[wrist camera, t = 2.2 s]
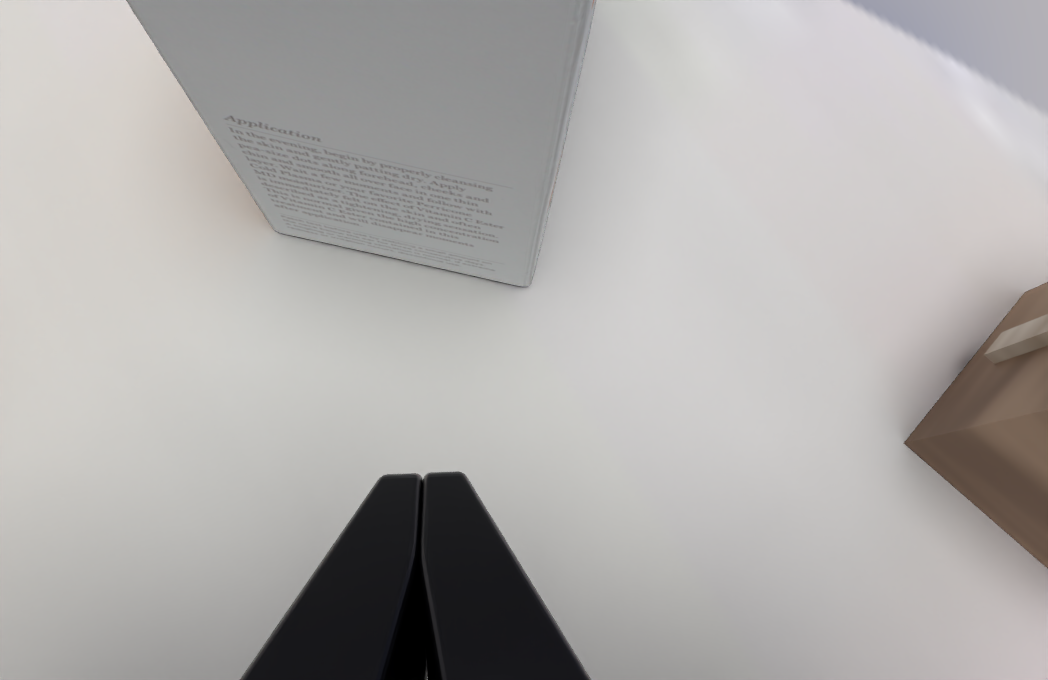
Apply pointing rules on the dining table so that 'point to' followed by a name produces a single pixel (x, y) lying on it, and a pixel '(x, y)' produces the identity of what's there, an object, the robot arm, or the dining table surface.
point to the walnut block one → (999, 426)
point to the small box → (388, 117)
